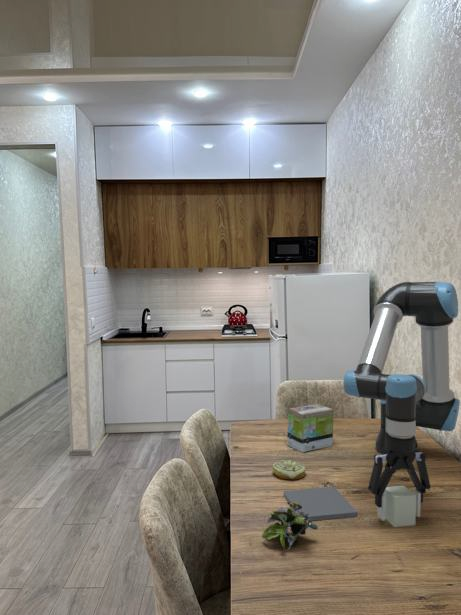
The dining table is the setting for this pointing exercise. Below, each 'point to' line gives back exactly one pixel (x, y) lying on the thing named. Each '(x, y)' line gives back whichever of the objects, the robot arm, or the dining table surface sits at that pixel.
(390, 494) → the sage block
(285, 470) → the decorated donut
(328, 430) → the tea box
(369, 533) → the dining table surface
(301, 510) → the slate plate
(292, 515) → the passion flower
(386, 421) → the robot arm
